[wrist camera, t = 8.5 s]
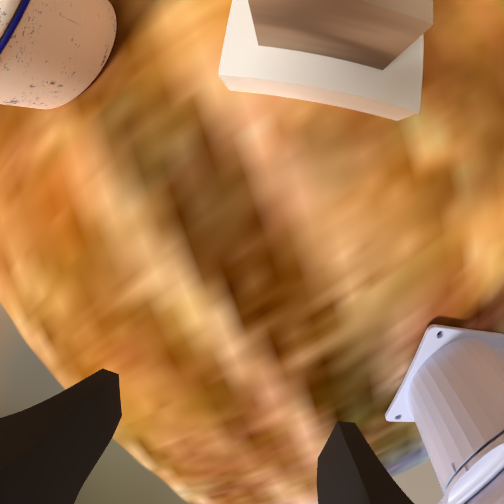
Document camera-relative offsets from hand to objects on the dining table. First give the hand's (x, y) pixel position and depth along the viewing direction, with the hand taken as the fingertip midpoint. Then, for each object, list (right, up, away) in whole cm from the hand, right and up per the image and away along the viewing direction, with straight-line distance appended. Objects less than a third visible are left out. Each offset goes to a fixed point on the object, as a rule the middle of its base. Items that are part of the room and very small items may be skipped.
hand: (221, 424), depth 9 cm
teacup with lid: (-12, +18, +6) cm, 23 cm away
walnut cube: (+4, +16, +2) cm, 17 cm away
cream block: (+5, +18, +5) cm, 19 cm away
